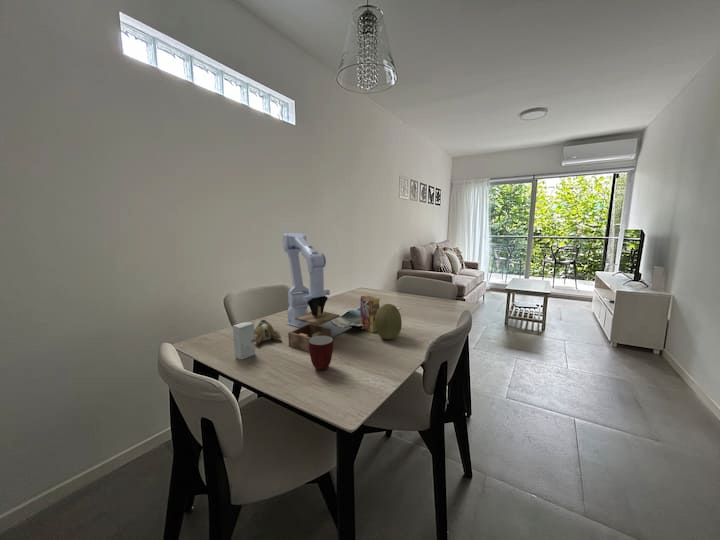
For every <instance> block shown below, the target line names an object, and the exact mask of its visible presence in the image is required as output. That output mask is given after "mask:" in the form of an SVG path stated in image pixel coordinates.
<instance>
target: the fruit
mask: <svg viewBox="0 0 720 540" xmlns="http://www.w3.org/2000/svg"><path fill="white" fill-rule="evenodd" d="M402 324H403V323H402V316H401V313H400V311H399V309H398V308H397V307H396V306H395V305H394V304H391V303H385V304H383V305H381V306H379V309H378V311H377V313H376V316H375V329H376V331H377V332H376V333H377V334H378V336H379V337H381V338H382V339H385V340H394V339H396V338H397V337H398V336H399V334H400V332H401V330H402V326H403V325H402Z"/></svg>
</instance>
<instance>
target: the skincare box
mask: <svg viewBox="0 0 720 540" xmlns="http://www.w3.org/2000/svg"><path fill="white" fill-rule="evenodd" d="M232 335H233V337H232V338H233V350H234V358H236V359H238V360H240V359H241V360H240V361H242V360H244V359H248V358H249V357H252V356H255V355H256V347H255V343H256V342H255V341H254V323H253V322H250V321H244V322H241V323H238V324H232Z"/></svg>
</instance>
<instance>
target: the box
mask: <svg viewBox="0 0 720 540" xmlns="http://www.w3.org/2000/svg"><path fill="white" fill-rule="evenodd" d="M316 332H322V333H320V334H317V335H315V336H329V337H331V329H328V328H324V327H320V326H316V325H314V324H308V325H305V326H303V327H297V328H296V329H294V330H291V331H288V334H287V335H288V347H293V348H295V349H298V350H302V351H305V352H307V353H310V352H309V339H310V338H312V334H314V333H316ZM300 333H303V334H307V335H308V337H306V336H303V335H299V334H300ZM315 336H313V337H315ZM331 338H332V337H331Z"/></svg>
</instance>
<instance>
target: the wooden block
mask: <svg viewBox="0 0 720 540" xmlns="http://www.w3.org/2000/svg"><path fill="white" fill-rule="evenodd" d="M338 318H340V314H337V313H333V312H328V311H324V310H323V314H321V307H320V306H318V311H317V316H313V315H312V312H311V311H310V312H308V313H306V314H304V315H301V316H298V317H295V320H299V321H303V322H307V323H310V324H312V325H318V326H319V325H321V324H324V323H326V322H328V321H334V320H335V319H338Z"/></svg>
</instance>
